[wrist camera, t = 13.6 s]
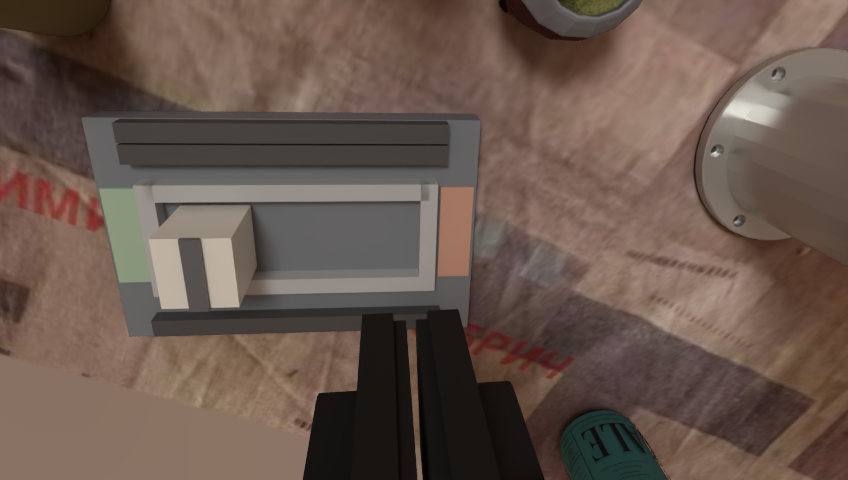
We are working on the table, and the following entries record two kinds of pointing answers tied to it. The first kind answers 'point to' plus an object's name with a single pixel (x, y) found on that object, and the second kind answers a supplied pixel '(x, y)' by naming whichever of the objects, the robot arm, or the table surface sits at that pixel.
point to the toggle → (204, 257)
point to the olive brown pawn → (52, 15)
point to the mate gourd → (570, 16)
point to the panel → (296, 212)
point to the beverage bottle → (607, 449)
